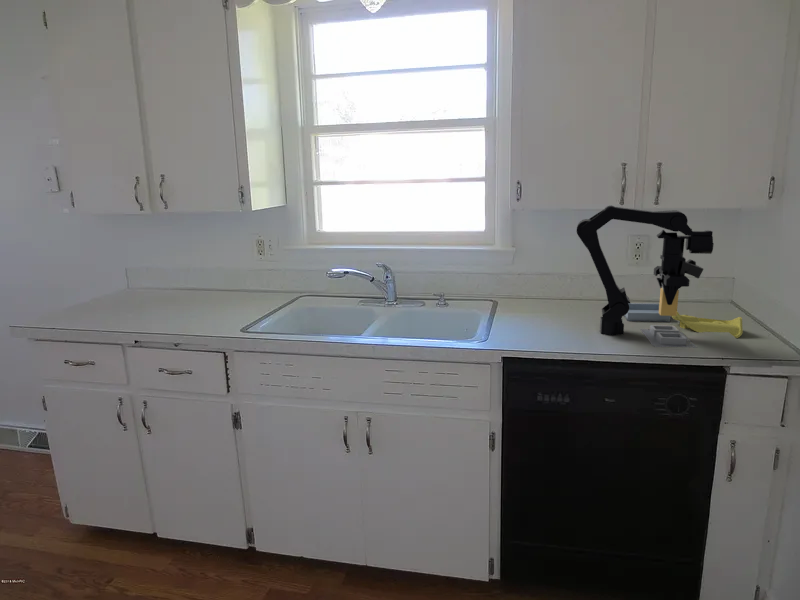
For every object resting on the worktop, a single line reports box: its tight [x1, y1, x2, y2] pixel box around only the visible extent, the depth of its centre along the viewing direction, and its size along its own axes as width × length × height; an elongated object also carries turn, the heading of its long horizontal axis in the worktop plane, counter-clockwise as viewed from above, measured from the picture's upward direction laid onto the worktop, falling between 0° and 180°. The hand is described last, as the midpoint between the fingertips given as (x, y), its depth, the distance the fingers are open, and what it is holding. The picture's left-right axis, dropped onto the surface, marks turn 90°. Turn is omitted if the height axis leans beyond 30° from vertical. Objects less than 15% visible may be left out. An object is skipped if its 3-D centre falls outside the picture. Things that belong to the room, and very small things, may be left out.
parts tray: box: [623, 302, 672, 323], centre depth 203 cm, size 14×14×3 cm
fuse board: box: [639, 324, 698, 349], centre depth 174 cm, size 12×18×4 cm, turn 169°
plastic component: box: [671, 311, 744, 339], centre depth 183 cm, size 20×7×10 cm
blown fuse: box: [658, 287, 680, 317], centre depth 173 cm, size 3×4×9 cm, turn 77°
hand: (668, 303), depth 173 cm, fingers closed on blown fuse, 3 cm apart
